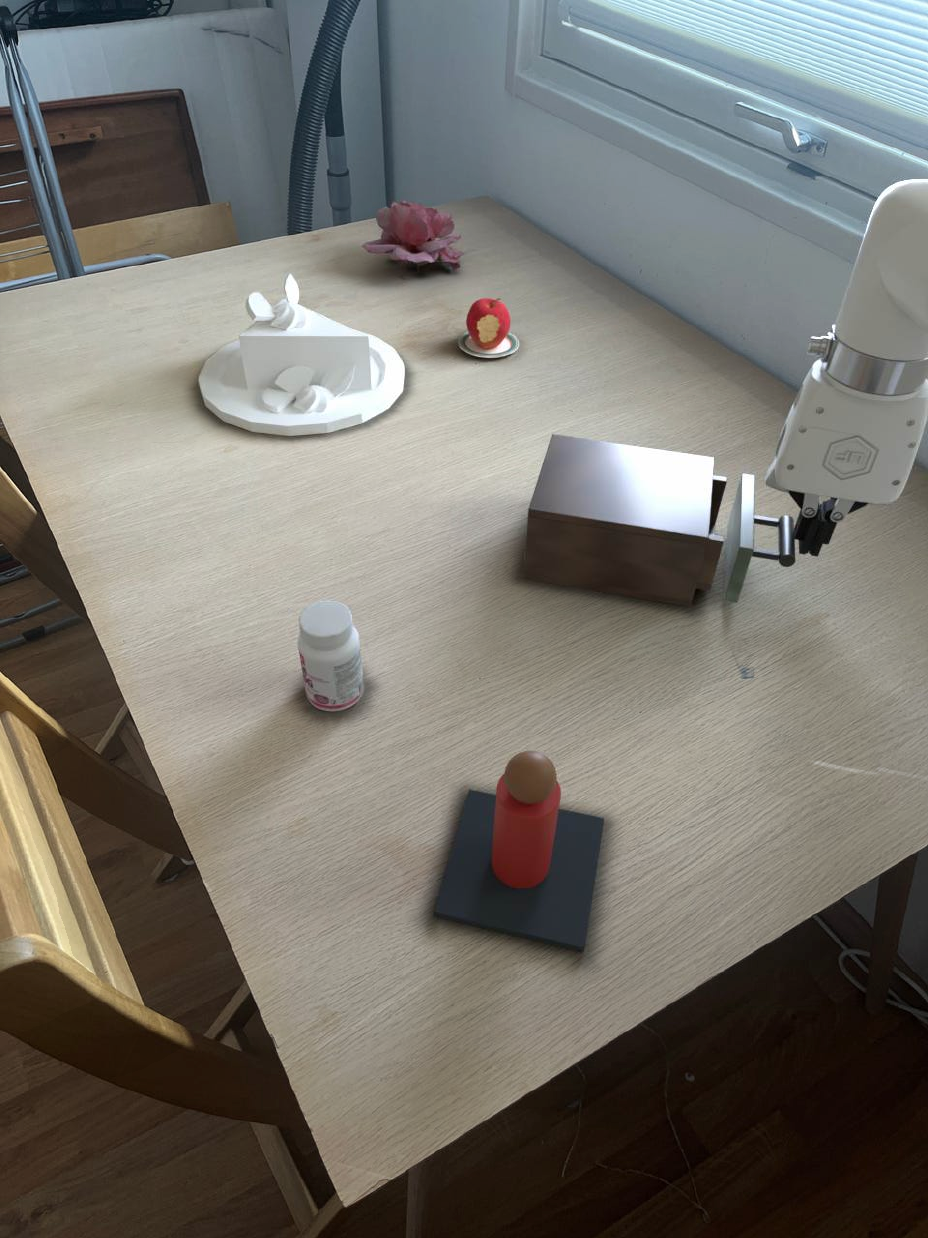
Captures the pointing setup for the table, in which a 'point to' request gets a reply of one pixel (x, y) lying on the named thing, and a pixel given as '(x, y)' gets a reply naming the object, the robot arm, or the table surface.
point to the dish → (299, 372)
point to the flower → (415, 235)
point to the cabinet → (620, 519)
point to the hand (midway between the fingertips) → (807, 545)
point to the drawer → (741, 538)
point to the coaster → (532, 912)
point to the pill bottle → (330, 656)
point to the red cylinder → (525, 820)
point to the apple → (488, 330)
